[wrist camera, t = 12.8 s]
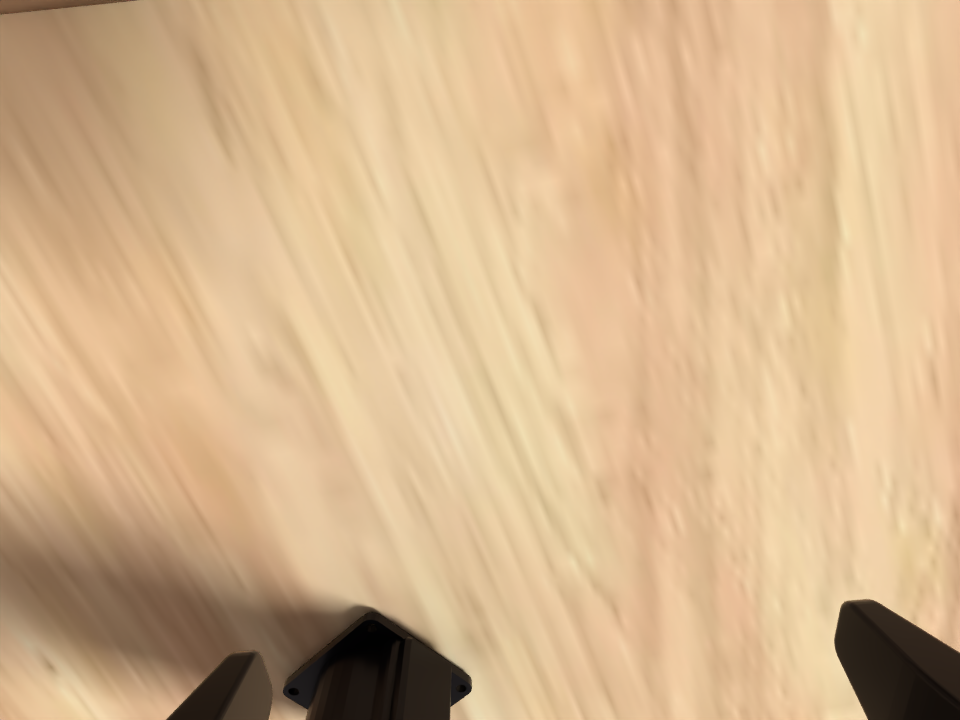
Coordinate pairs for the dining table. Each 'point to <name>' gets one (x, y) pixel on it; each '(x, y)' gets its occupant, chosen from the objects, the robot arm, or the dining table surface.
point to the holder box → (46, 4)
